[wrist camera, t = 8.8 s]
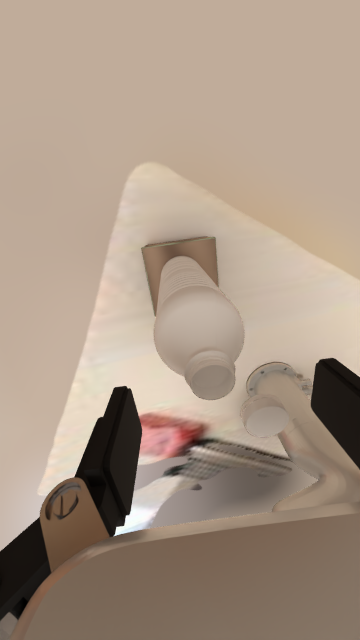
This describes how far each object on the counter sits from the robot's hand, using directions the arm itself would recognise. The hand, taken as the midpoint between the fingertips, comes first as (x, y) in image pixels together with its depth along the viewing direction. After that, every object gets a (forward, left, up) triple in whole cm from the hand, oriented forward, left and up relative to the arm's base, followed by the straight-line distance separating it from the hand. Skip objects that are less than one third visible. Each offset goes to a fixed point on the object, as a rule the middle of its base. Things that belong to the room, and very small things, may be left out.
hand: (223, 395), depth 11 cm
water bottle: (0, 0, -25) cm, 25 cm away
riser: (0, -1, -33) cm, 33 cm away
